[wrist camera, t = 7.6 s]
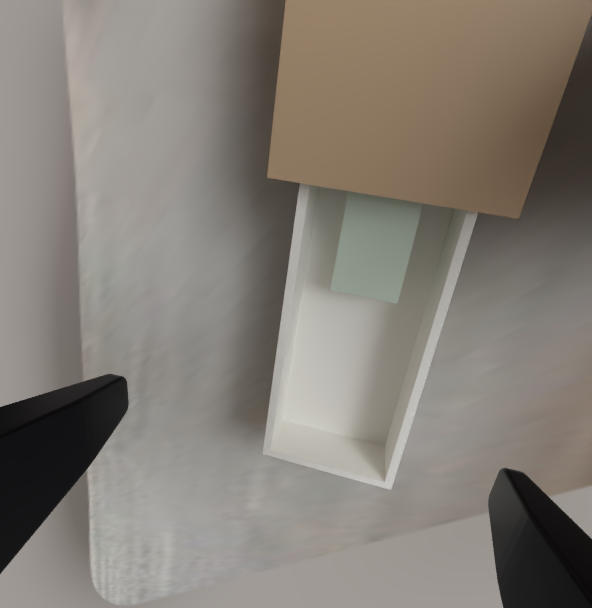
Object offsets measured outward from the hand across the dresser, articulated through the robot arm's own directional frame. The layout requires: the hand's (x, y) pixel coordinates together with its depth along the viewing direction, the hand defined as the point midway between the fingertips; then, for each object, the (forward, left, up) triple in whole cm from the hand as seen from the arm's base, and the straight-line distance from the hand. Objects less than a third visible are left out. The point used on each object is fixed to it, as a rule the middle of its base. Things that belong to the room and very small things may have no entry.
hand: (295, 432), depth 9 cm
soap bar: (-1, -3, -11) cm, 11 cm away
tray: (-1, +1, -11) cm, 11 cm away
